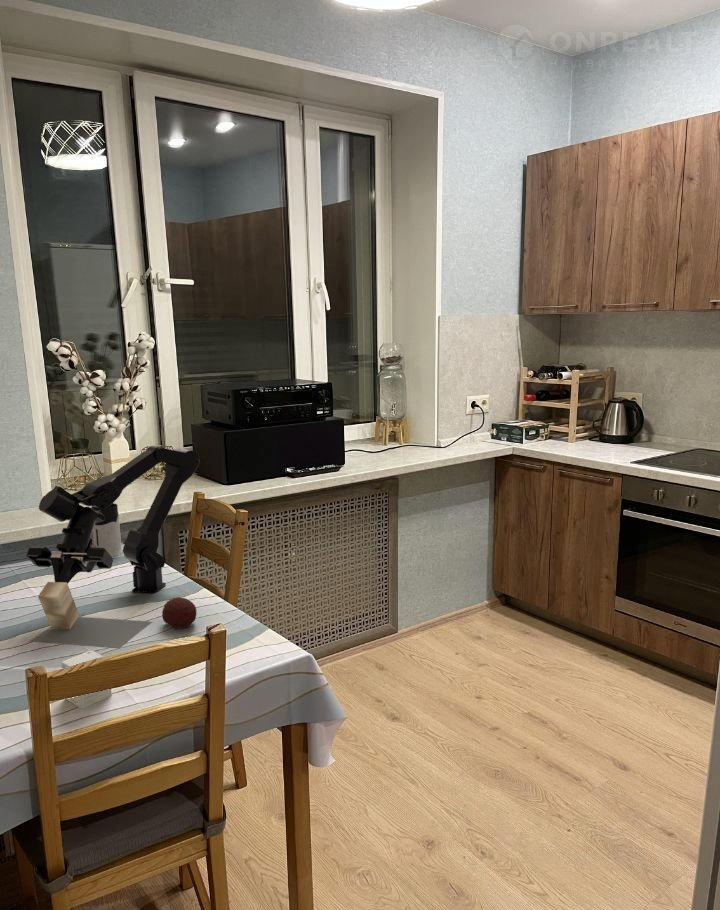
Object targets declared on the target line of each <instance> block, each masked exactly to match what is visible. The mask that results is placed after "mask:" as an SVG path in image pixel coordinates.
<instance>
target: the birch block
mask: <svg viewBox="0 0 720 910" xmlns="http://www.w3.org/2000/svg"><path fill="white" fill-rule="evenodd" d="M37 598H38V600H39V602H40V604H41V607H42V610H43V612H44V614H45V616H46V620H47V621H48V625H49V626H50V627H51V629H65V630H71V628H72V626H73V625H74V623H75V621H76V620H77V618H78V617H80V613H79V611H78V608H77V605H76V602H75V599H74V598H73V595H72V593H71V590H70V588H69V583H68V584H67V582H55V581H48V582H46V583H45V586H43V588H42V590H41V591H40V593H39V594H38V596H37Z"/></svg>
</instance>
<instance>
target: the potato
mask: <svg viewBox="0 0 720 910" xmlns="http://www.w3.org/2000/svg"><path fill="white" fill-rule="evenodd" d="M196 607H197V606H196V605H195V604H194V603H193V602H192V601H191V600H189V599H188V598H185V597H180V596H179V597H178V596H177V597H173V598H171V599H168V601H166V603H165V604H164V605H163V608H162V613H161V614H162V620H163V621H164V623H166V624H167V625H168V626H171V627H172V628H178V629H180V628H182V629H183V628H188V627H189V626H191V625H192V624H194V622H195V621H196V618H197V608H196Z"/></svg>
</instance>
